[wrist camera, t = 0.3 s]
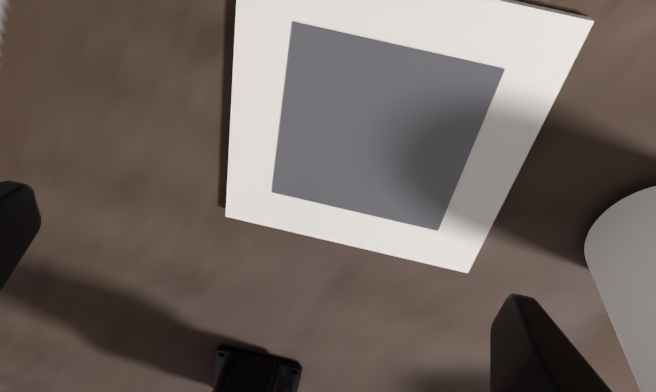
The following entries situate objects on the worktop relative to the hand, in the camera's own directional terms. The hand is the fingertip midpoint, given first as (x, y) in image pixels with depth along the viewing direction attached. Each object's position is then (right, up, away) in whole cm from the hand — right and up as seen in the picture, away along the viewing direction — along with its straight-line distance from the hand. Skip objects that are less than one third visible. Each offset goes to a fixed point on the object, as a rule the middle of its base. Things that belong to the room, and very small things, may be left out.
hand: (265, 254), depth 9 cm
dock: (+3, +4, +14) cm, 15 cm away
